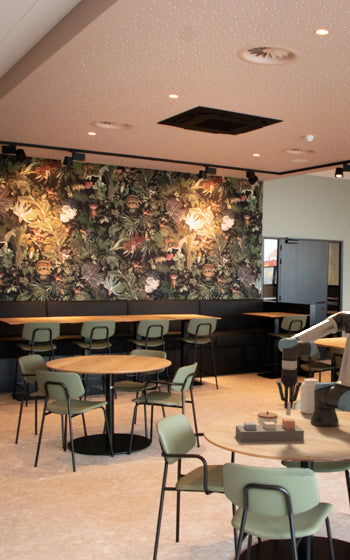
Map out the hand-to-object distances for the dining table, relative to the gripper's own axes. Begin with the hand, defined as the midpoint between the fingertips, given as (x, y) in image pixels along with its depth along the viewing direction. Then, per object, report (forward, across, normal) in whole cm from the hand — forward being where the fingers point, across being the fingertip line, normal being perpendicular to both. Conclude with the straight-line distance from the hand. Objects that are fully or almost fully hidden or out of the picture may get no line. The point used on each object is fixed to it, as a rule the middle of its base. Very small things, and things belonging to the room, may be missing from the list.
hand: (288, 414), depth 297 cm
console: (+12, +10, 0) cm, 15 cm away
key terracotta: (+8, 0, 0) cm, 8 cm away
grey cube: (+9, +20, 0) cm, 22 cm away
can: (+11, -32, -54) cm, 64 cm away
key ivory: (+9, +10, 0) cm, 13 cm away
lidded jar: (+12, +6, -18) cm, 22 cm away
